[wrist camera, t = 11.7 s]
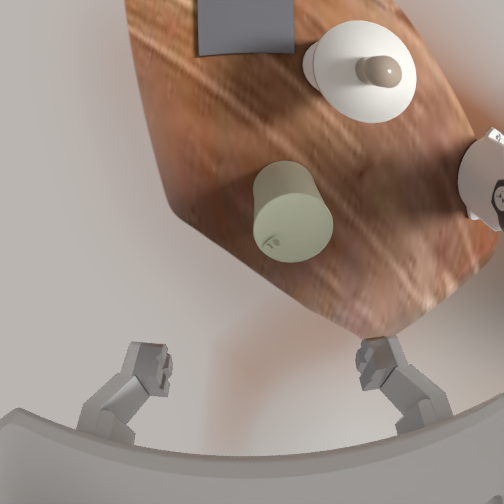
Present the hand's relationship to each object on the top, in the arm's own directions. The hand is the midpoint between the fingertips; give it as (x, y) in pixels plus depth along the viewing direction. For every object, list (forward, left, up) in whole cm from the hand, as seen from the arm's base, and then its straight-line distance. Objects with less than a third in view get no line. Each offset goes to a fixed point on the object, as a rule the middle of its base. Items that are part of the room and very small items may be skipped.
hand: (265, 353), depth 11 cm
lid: (-11, -11, -21) cm, 27 cm away
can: (-4, +7, -32) cm, 33 cm away
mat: (+1, -19, -32) cm, 37 cm away
